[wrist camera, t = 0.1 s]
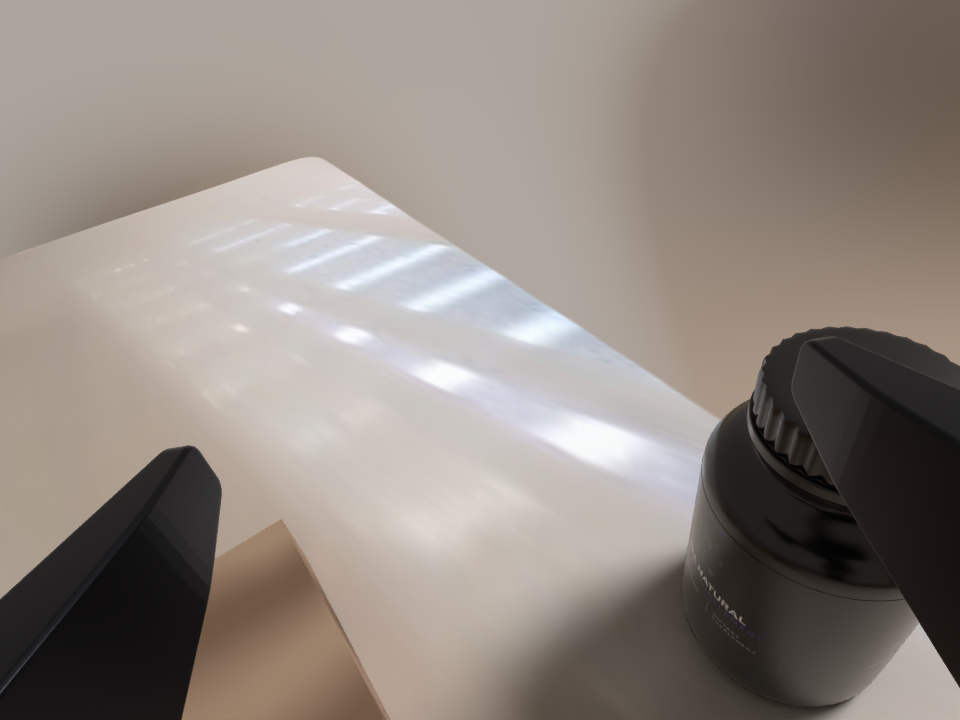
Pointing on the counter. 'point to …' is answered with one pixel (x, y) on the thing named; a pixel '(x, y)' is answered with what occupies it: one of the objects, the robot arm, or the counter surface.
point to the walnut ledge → (275, 642)
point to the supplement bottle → (792, 546)
